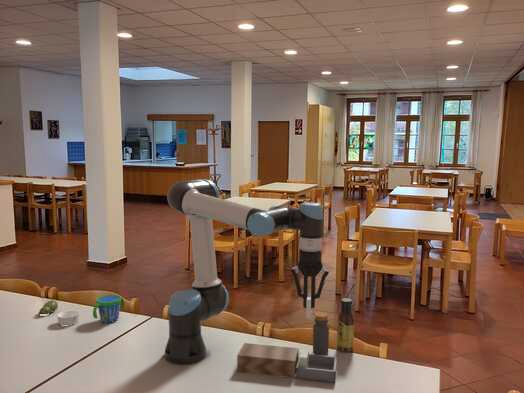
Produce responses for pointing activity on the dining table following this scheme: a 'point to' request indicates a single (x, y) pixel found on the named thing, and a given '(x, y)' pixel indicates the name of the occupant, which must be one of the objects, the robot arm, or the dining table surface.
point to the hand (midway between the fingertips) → (308, 316)
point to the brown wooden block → (268, 360)
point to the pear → (48, 307)
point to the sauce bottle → (345, 327)
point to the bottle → (320, 334)
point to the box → (318, 369)
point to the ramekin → (68, 317)
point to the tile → (304, 359)
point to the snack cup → (108, 307)
